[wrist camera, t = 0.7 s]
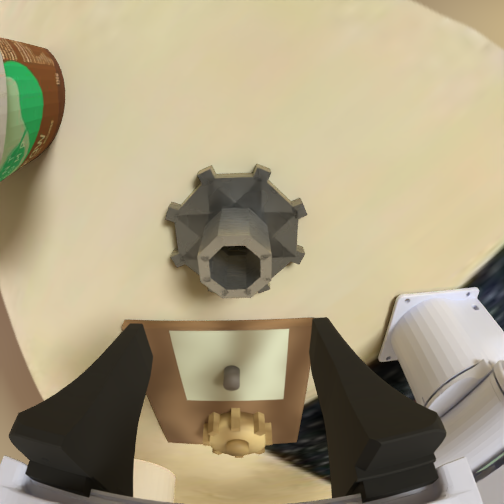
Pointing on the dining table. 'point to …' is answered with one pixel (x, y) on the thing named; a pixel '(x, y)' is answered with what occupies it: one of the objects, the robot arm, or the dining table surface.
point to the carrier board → (229, 381)
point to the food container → (27, 103)
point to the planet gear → (236, 231)
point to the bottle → (153, 482)
